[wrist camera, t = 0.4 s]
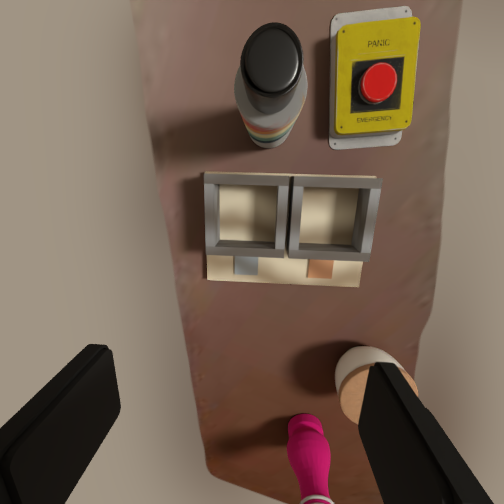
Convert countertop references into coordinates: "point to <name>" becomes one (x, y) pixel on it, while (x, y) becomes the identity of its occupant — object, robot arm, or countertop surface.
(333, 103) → the emergency button
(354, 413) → the lidded jar
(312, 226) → the socket board
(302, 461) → the pepper mill
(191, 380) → the countertop surface
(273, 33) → the lotion bottle
